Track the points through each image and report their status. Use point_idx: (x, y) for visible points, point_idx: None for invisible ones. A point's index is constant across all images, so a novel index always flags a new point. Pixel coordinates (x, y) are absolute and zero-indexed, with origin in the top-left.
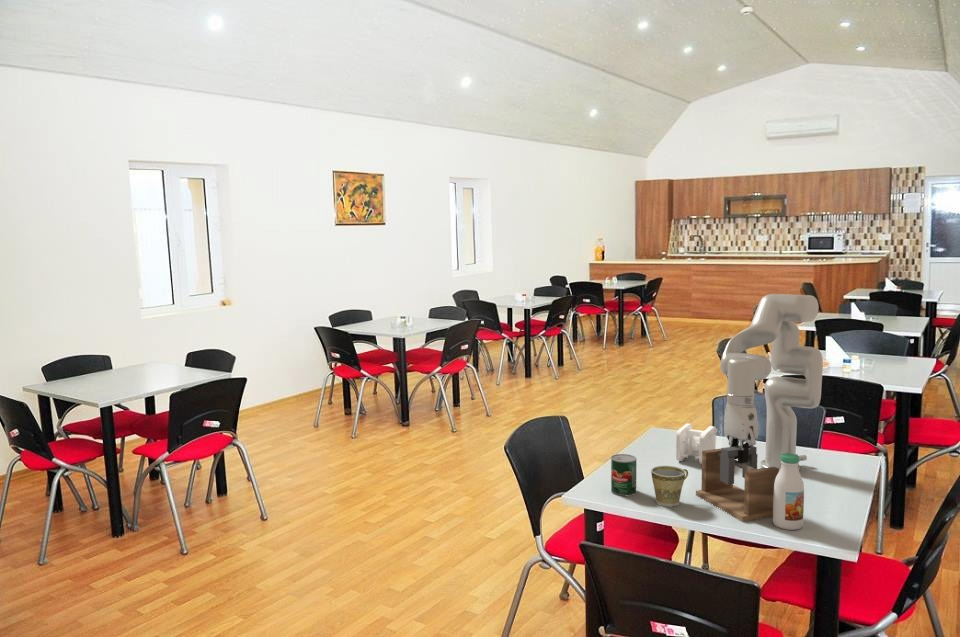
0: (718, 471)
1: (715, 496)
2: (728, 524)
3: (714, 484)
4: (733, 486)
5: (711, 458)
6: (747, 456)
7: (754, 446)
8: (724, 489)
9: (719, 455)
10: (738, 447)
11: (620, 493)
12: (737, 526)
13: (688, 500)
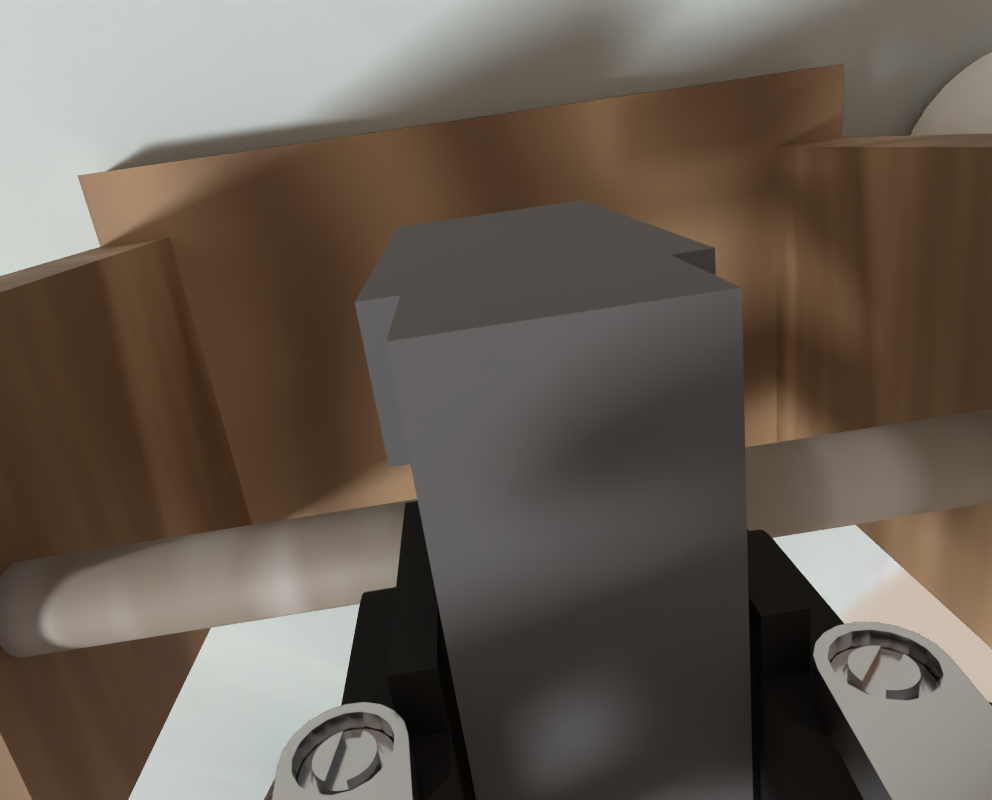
0: (145, 494)
1: (375, 500)
2: (811, 581)
3: (210, 473)
4: (121, 204)
5: (95, 721)
6: (789, 564)
7: (640, 308)
8: (206, 341)
9: (70, 647)
10: (591, 774)
11: None
12: (862, 542)
13: (324, 656)
